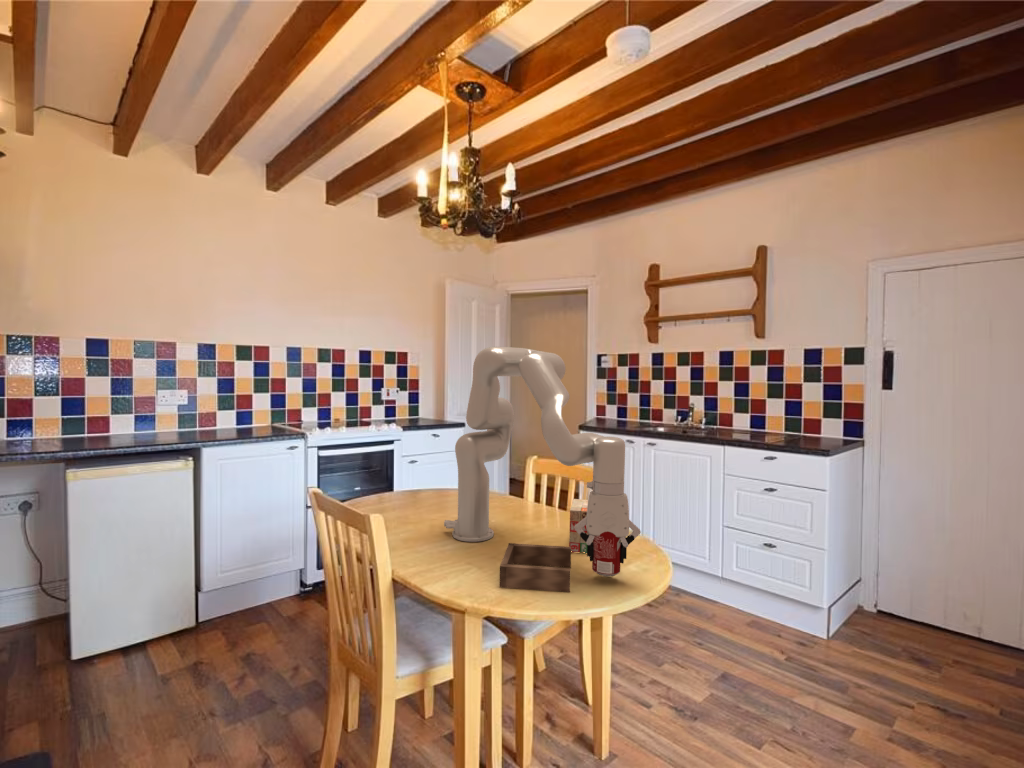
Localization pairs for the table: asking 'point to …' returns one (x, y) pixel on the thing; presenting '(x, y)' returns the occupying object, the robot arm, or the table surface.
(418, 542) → the table surface
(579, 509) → the stack of blocks
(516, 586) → the open-side box
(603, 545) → the soda can
